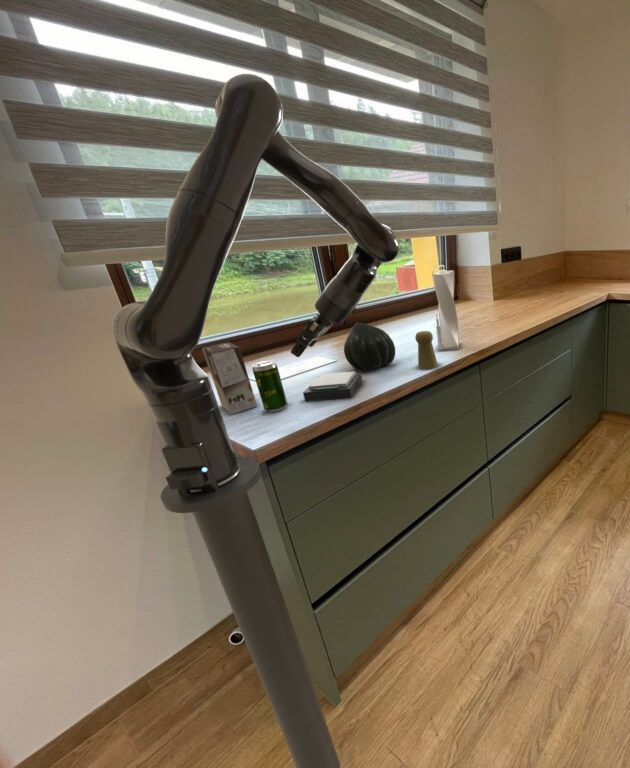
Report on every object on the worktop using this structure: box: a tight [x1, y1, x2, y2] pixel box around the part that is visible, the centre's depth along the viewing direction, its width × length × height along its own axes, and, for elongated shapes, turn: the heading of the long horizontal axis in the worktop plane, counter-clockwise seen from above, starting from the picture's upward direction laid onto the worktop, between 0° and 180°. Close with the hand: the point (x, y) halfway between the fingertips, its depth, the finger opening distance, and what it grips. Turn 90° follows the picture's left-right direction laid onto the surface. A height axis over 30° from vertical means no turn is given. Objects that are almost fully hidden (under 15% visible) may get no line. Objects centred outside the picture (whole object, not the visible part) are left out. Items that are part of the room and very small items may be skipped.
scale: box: [302, 371, 363, 402], centre depth 116 cm, size 12×12×4 cm
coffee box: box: [201, 341, 258, 415], centre depth 108 cm, size 9×6×16 cm
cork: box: [415, 330, 439, 370], centre depth 130 cm, size 6×6×11 cm
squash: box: [343, 322, 396, 372], centre depth 133 cm, size 14×15×15 cm
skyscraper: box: [431, 264, 460, 352], centre depth 146 cm, size 8×8×28 cm
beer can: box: [251, 359, 288, 413], centre depth 106 cm, size 5×5×12 cm
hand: (301, 349), depth 103 cm, fingers open, 8 cm apart
